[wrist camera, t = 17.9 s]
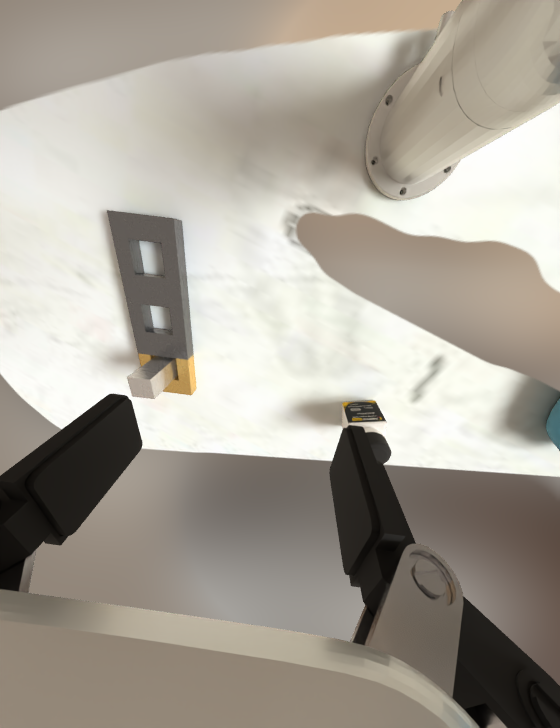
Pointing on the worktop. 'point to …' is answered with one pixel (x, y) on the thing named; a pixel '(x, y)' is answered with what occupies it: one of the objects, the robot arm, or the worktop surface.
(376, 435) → the medicine bottle
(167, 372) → the steel peg
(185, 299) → the rail
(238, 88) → the worktop surface
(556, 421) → the casserole dish
